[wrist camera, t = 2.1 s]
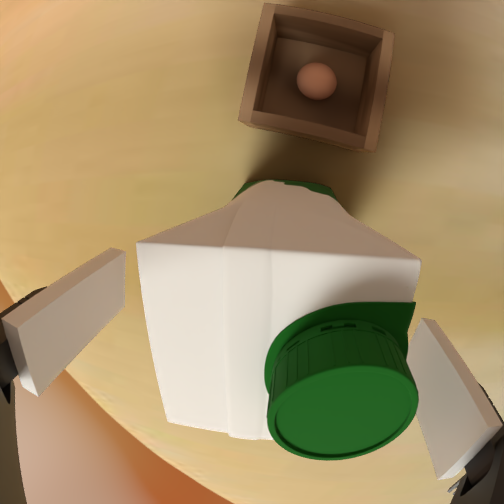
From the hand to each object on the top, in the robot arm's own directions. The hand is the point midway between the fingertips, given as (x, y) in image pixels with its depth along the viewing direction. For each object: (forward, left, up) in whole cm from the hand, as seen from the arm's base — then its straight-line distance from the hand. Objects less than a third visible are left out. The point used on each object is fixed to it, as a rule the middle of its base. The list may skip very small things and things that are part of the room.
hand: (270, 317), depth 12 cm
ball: (-12, 0, -14) cm, 18 cm away
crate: (-12, 0, -14) cm, 19 cm away
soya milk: (0, 0, -15) cm, 15 cm away
